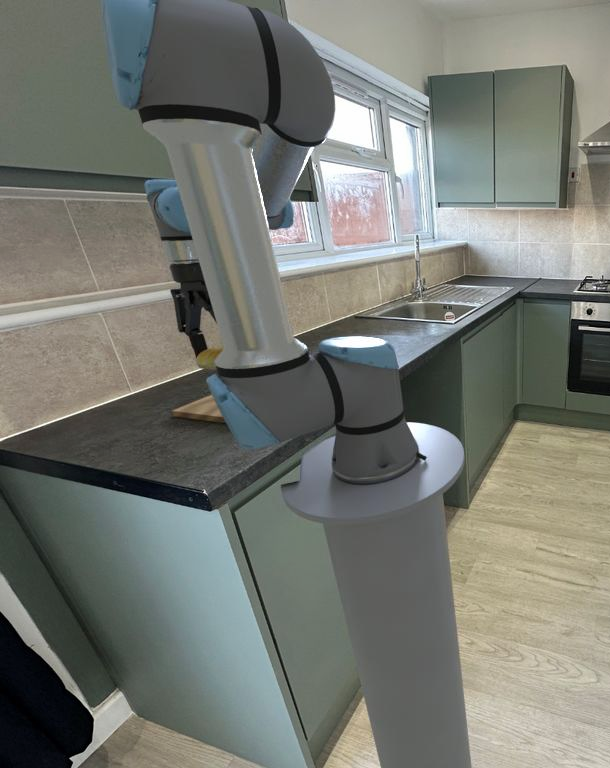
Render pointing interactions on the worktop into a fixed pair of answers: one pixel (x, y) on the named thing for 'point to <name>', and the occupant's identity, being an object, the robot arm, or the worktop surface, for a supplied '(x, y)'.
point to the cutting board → (201, 410)
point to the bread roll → (208, 358)
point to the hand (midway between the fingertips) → (220, 363)
